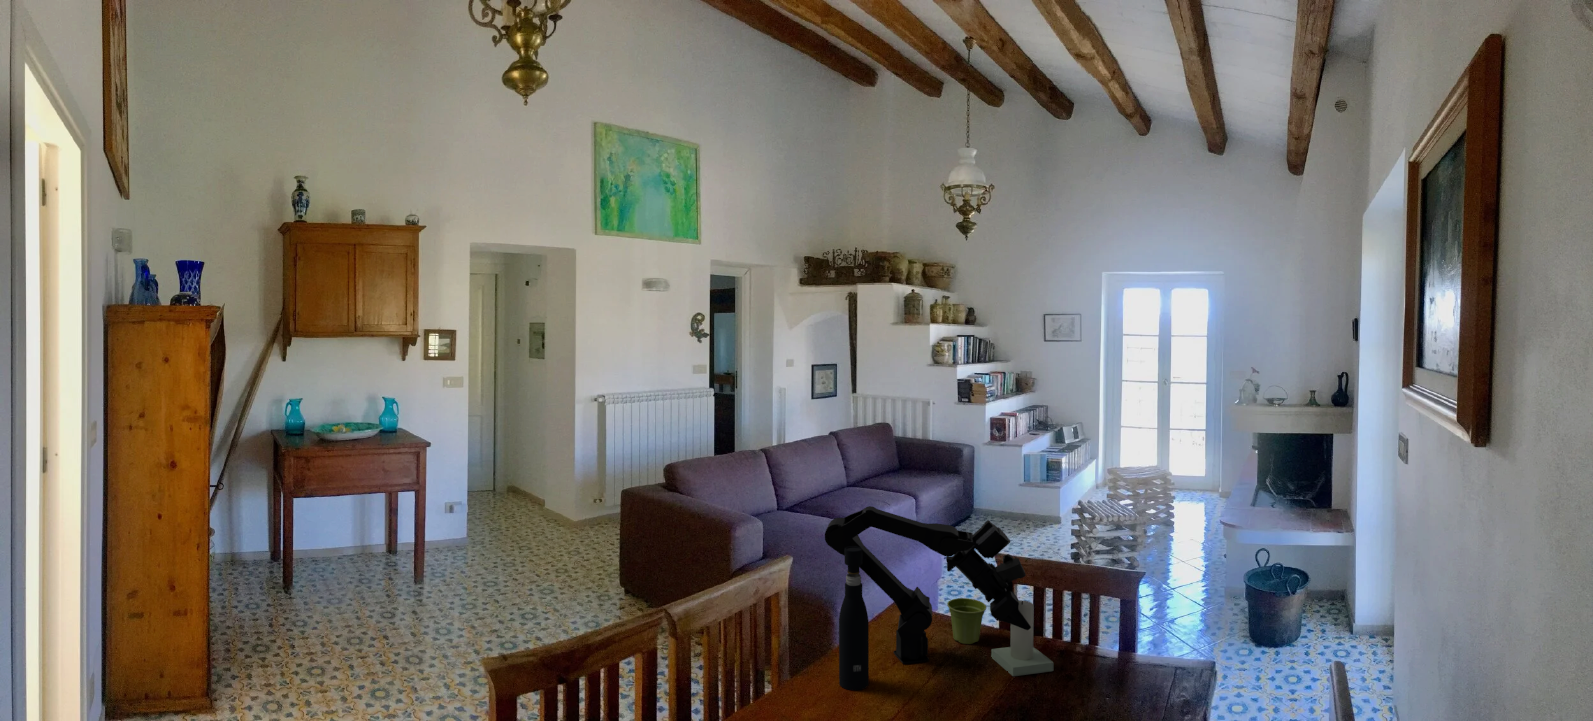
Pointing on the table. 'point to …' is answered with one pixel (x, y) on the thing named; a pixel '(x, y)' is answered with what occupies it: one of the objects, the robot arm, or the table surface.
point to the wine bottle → (853, 627)
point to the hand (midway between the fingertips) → (1026, 620)
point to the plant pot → (966, 619)
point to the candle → (1023, 634)
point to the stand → (1022, 662)
